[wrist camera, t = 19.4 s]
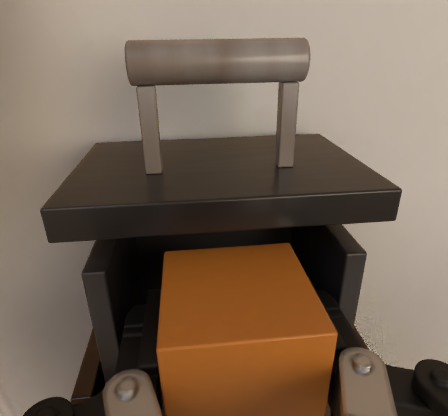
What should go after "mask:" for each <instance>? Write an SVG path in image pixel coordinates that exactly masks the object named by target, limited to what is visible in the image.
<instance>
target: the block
mask: <svg viewBox="0 0 448 416" xmlns="http://www.w3.org/2000/svg"><path fill="white" fill-rule="evenodd" d="M337 336H338V333H337V331H336V329H335V327H334V325H333V323H332V321H331V319H330V318H329V316H328V314H327V312H326V310H325V308H324V306H323V305H322V303H321V301H320V299H319V297H318V295H317V294H316V292H315V290H314V288H313V286H312V284H311V282H310V281H309V279H308V277H307V275H306V273H305V271H304V269H303V268H302V266H301V264H300V262H299V260H298V258H297V256H296V255H295V253H294V251H293V249H292V247H291V245H290V244H289V243H279V244H265V245H250V246H236V247H222V248H207V249H193V250H179V251H166V252H165V253H164V261H163V273H162V286H161V298H160V310H159V323H158V335H157V348H156V352H157V360H158V368H159V375H160V383H161V391H162V399H163V407H164V414H165V416H325V412H326V406H327V400H328V393H329V387H330V381H331V374H332V368H333V361H334V355H335V349H336V342H337Z"/></svg>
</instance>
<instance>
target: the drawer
mask: <svg viewBox="0 0 448 416" xmlns="http://www.w3.org/2000/svg"><path fill="white" fill-rule="evenodd" d="M125 62H126V70H127V76H128V80H129V82H130V84H131V85H132V86H137V88H136V90H137V99H138V108H139V117H140V126H141V134H142V141H133V142H108V143H96V144H95V145H94V146H93V147H92V149H91V150H90V151H89V152H88V153H87V155H86V156H85V157H84V158H83V159H82V160H81V162H80V163H79V164H78V165H77V166H76V168H75V169H74V170H73V171H72V172H71V174H70V175H69V176H68V177H67V178H66V180H65V181H64V182H63V183H62V184H61V185H60V187H59V188H58V189H57V190H56V191H55V193H54V194H53V195H52V196H51V197H50V199H49V200H48V201H47V202H46V203H45V204H44V206H43V207H42V208H41V210H40V212H41V216H42V219H43V223H44V227H45V231H46V235H47V239H48V242H49V243H59V242H74V241H90V240H96V241H95V243H94V246H93V248H92V250H91V253H90V255H89V257H88V260H87V262H86V264H85V267H84V269H83V271H82V274H81V275H82V279H83V284H84V288H85V293H86V297H87V302H88V307H89V311H90V316H91V320H92V325H93V329H94V334H95V338H96V343H97V347H98V352H99V356H100V361H101V366H102V370H103V375H104V379H105V384H106V383H107V382H108V381H109V380H110V379H111V378H112V377H113V376H114V373H115V369H116V364H117V359H118V354H119V349H120V344H121V339H122V334H123V329H124V324H125V319H126V315H127V314H128V312H129V311H130V310H131V308H132V307H133V306H134V305H140V304H146V299H147V292H148V290H154V289H161V286H162V273H163V261H164V253H165V252H166V251H179V250H193V249H207V248H222V247H236V246H250V245H265V244H279V243H289V244H290V245H291V247H292V249H293V251H294V253H295V255H296V256H297V258H298V260H299V262H300V264H301V266H302V268H303V269H304V271H305V273H306V275H307V277H308V278H310V280H311V282H312V283H313V285H314V287H315V289H316V290H325V291H326V292H327V293H329V294H330V295H331V296H332V297H334V298H335V300H336V302H337V303H338V305H339V307H340V310H342V312H343V313H344V315H345V318H347V320H348V322H349V323H350V325H351V327H352V328H353V327H354V321H355V316H356V310H357V305H358V299H359V294H360V288H361V283H362V277H363V272H364V266H365V261H366V255H367V254H366V251H365V250H364V249H363V248H362V247H361V246H360V245H359V243H358V242H357V241H356V240H355V239H354V238H353V237H352V235H351V234H350V233H349V232H348V231H347V230H346V229H345V228H344V226H343V225H342V224H352V223H368V222H383V221H394V220H396V216H397V212H398V207H399V202H400V197H401V193H402V190H401V188H399V187H398V186H396V185H395V184H393V183H392V182H390V181H389V180H387V179H386V178H384V177H383V176H381V175H380V174H378V173H377V172H375V171H374V170H372V169H371V168H369V167H368V166H366V165H365V164H363V163H362V162H360V161H359V160H357V159H356V158H354V157H353V156H351V155H350V154H348V153H347V152H345V151H344V150H342V149H341V148H339V147H338V146H336V145H335V144H333V143H332V142H330V141H329V140H328V139H326V138H325V137H323V136H322V135H320V134H306V135H295V134H296V120H297V106H298V92H299V83H298V82H301V81H303V80H305V78H306V76H307V74H308V70H309V65H310V47H309V43H308V41H307V39H305V38H261V39H195V40H128V41H126V44H125ZM265 82H279V90H278V111H277V132H276V136H256V137H231V138H207V139H182V140H160V132H159V121H158V110H157V99H156V88H155V85H189V84H227V83H265Z"/></svg>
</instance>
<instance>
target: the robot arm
mask: <svg viewBox="0 0 448 416" xmlns="http://www.w3.org/2000/svg"><path fill="white" fill-rule="evenodd" d="M308 279H309V281H310V282H311V280H310V278H308ZM311 284H312V286H313V288H314V290H315V292H316V294H317V295H318V297H319V299H320V301H321V303H322V305H323V306H324V308H325V310H326V312H327V314H328V316H329V318H330V319H331V321H332V323H333V325H334V327H335V329H336V331H337V333H338V336H337V342H336V349H335V355H334V361H333V368H332V374H331V381H330V387H329V393H328V400H327V402H328V404H329V407H330V415H329V416H448V364H446V363H444V362H441V361H438V360H433V359H426V360H422V361H420V362H418V363H417V365H416V366H415V370H410V369H404V368H399V367H393V366H389V365H386V364H384V362H383V361H382V359H381V358H380V357H379V356H378V355H376V354H375V353H373V352H372V351H370V350H367V349H365V348H364V347H363V345H362V344H361V342H360V340H359V339H358V337H357V335H356V334H355V332H354V330H353V328H352V327H351V325H350V323H349V322H348V320H347V318H345V315H344V313H343V312H342V310H340V307H339V305H338V303H337V302H336V300H335V298H334V297H332V296H331V295H330V294H329V293H327V292H326V291H325V290H316V289H315V287H314V285H313V283H312V282H311ZM160 298H161V289H154V290H148V292H147V299H146V304H140V305H134V306H133V307H132V308H131V310H130V311H129V312H128V314H127V315H126V319H125V324H124V329H123V334H122V339H121V344H120V349H119V354H118V359H117V364H116V369H115V373H114V376H113V377H112V378H111V379H110V380H109V381H108V382H107V383H106V385H105V387H104V390H103V391H101V392H100V393H98V394H97V395H95V396H93V397H91V398H89V399H86V400H83V401H81V402H78V403H76V404H73V405H72V404H71V403H70V402H69V401H68V400H67V399H65V398H62V397H51V398H47V399H44V400H42V401H40V402H38V403H36V404H35V405H33V406H32V407H31V408H29V409H28V410H27V411H26V412H25V413H24V415H23V416H165V414H164V407H163V399H162V391H161V383H160V375H159V368H158V360H157V352H156V348H157V335H158V323H159V310H160Z"/></svg>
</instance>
